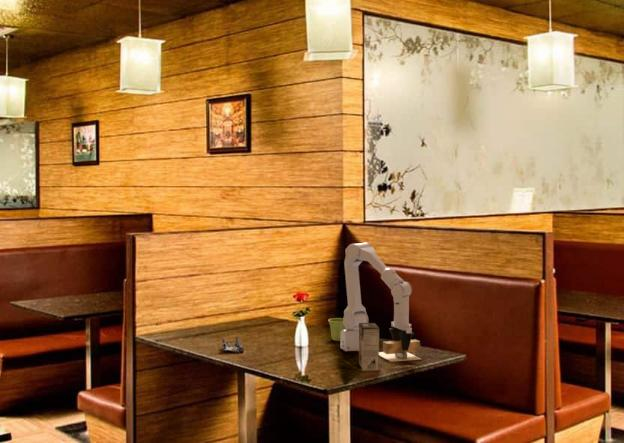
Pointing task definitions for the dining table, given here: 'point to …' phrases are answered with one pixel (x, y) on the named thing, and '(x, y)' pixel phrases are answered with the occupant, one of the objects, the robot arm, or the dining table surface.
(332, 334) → the plant pot
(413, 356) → the serving board
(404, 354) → the fulcrum strip
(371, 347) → the coffee box
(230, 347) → the grey irregular piece
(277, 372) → the dining table surface
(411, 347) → the oak bar
